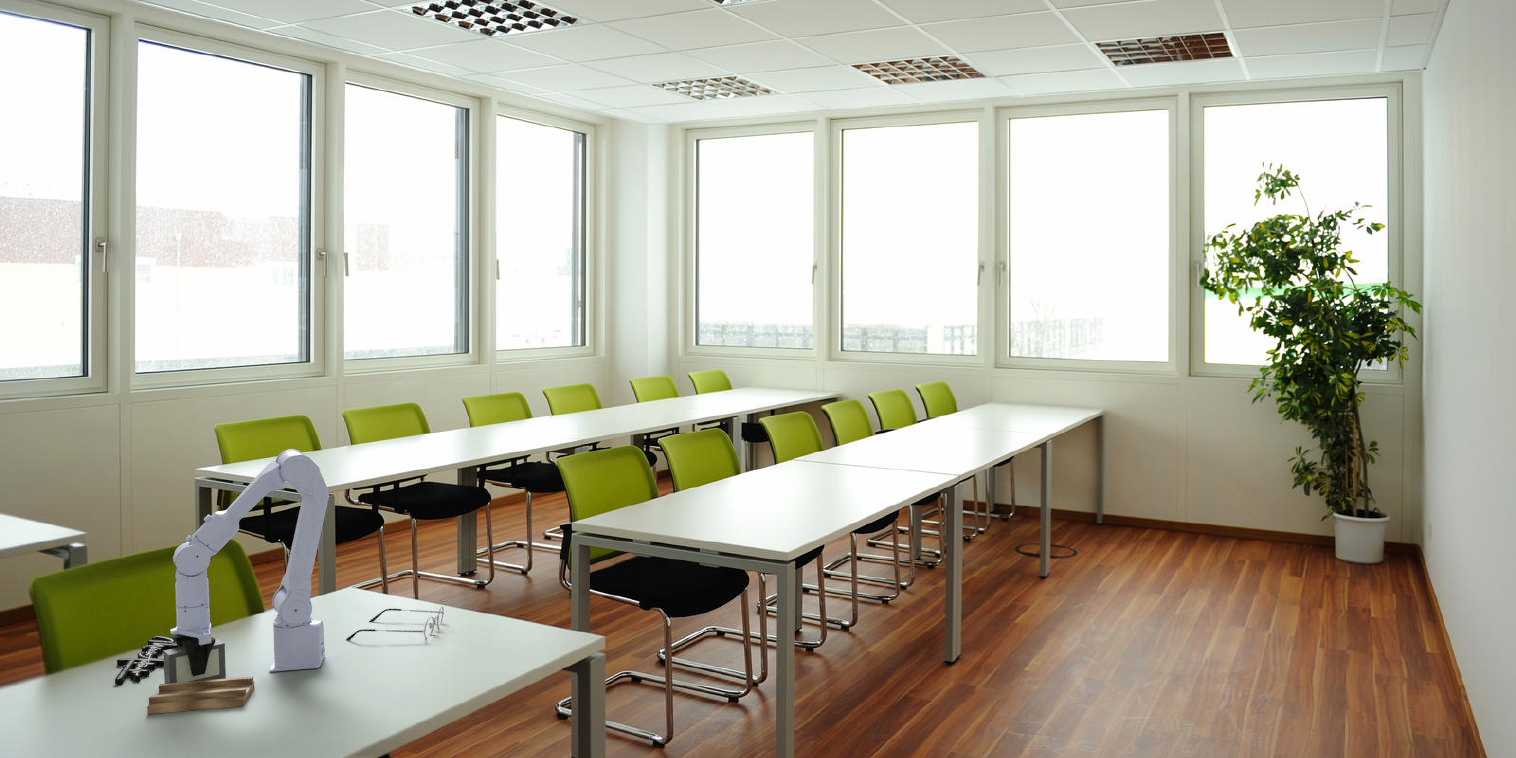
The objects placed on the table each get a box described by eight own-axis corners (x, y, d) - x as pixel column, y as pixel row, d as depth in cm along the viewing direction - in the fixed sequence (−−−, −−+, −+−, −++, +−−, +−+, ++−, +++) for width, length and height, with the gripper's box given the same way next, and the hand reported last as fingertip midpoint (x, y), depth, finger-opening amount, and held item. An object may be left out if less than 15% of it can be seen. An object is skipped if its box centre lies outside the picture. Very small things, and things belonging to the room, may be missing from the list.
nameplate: (133, 637, 227) (185, 633, 230) (134, 644, 227) (185, 640, 230) (101, 680, 201) (159, 675, 204) (101, 688, 201) (159, 682, 204)
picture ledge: (254, 688, 200) (254, 674, 200) (244, 705, 192) (243, 691, 191) (162, 696, 196) (161, 682, 196) (147, 714, 187) (146, 699, 187)
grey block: (219, 673, 209) (218, 639, 208) (225, 677, 206) (224, 643, 206) (164, 685, 202) (163, 650, 201) (170, 690, 199) (168, 655, 199)
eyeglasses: (427, 644, 228) (427, 622, 227) (343, 643, 228) (342, 621, 228) (450, 622, 244) (449, 601, 243) (371, 621, 244) (370, 601, 244)
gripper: (159, 600, 205) (161, 667, 206) (181, 616, 195) (184, 686, 196) (197, 593, 210) (200, 659, 211) (222, 608, 200) (224, 677, 201)
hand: (195, 671), depth 204 cm, fingers closed on grey block, 4 cm apart
